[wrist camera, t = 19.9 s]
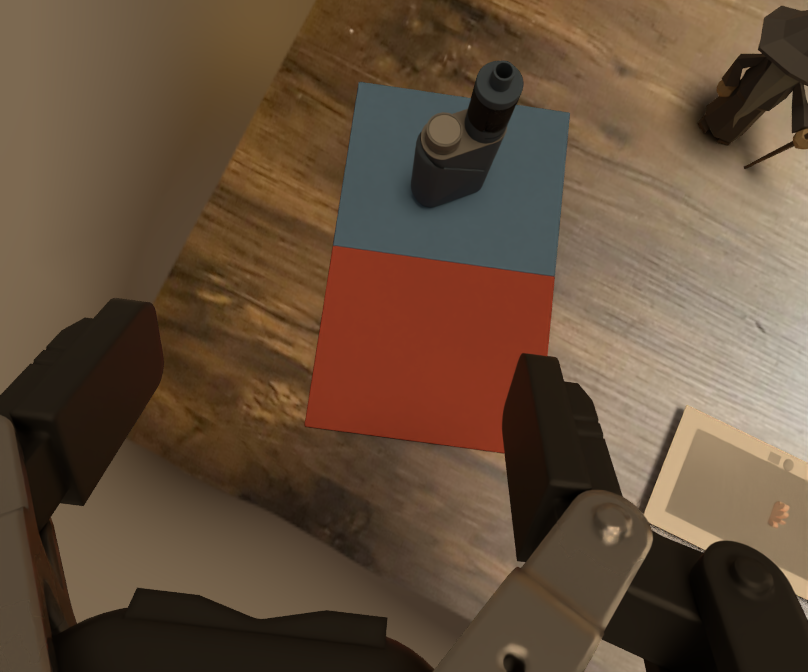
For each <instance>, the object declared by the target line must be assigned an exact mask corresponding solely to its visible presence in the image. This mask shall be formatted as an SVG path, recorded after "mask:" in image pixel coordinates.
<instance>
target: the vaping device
mask: <svg viewBox="0 0 808 672" xmlns="http://www.w3.org/2000/svg"><path fill="white" fill-rule="evenodd" d="M522 90H523V78H522V75H521V73H520V72H519V70H518V69H517V68H516V67H515V66H513V65H512V64H511V63H510V62H508V61H493V62H490V63H488V64H486V65H484V66H483V67H482V68H481V70H480V71H479V73H478V75H477V78H476V82H475V85H474V89H473V92H472V96H471V100H470V103H469V107H468V109H465V110H462V111H459V112H456V113H453V114H451V113H446V112H442V113H437V114H435V115H434V116H432V117H431V118H430V119H429V121H428V123H427V124H426V125H425V126H424V127H423V129H422V132H421V133H420V134H419V135H418V138H417V141H416V147H415V155H414V163H413V170H412V178H411V189H412V193H413V195H414V197H415V199H416V200H417V201H418V202H419V203H420V204H422V205H423V206H425V207H430V208H431V207H436V206H439V205H442V204H444V203H447V202H450V201H453V200H456V199H459V198H461V197H464V196H467V195H470V194H473V193H476V192H478V191H479V190H480V189H481V188H482V186H483V183H484V181H485V179H486V176H487V174H488V172H489V170H490V167H491V165H492V163H493V160H494V158H495V156H496V154H497V152H498V149H499V147H500V145H501V142H502V140H503V138H504V136H505V134H506V132H507V125H508V123H509V120H510V118H511V116H512V113H513V111H514V109H515V106H516V104H517V102H518V99H519V97H520V95H521V93H522Z"/></svg>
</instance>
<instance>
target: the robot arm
mask: <svg viewBox="0 0 808 672" xmlns="http://www.w3.org/2000/svg"><path fill="white" fill-rule="evenodd" d="M163 367H164V358H163V352H162V346H161V340H160V334H159V328H158V322H157V316H156V311H155V308H154V306H153V304H152V303H150V302H142V301H135V300H127V299H119V298H113V299H111V300H110V301H109V302H108V303H107V304H106V305H105V306H104V307H103V309H102V310H101V311H100V312H99V313H98V314H97V315H96V316H95V317H94V318H93V319H92V318H83V319H82V320H80V321H78V322H76V323H75V324H73V325H71V326H69V327H67V328H65V329H64V330H62V331H61V332H60V333H59V334H58V335H57V336H56V337H55V338H54V339H53V340H52V341H51V343H50V344H48V346H47V347H46V350H43V351H42V352H41V353H40V354H39V355H38V356H37V357H36V358H35V359H34V363H33V364H30V365H29V366H28V367H27V368H26V369H25V370H24V371H23V372H22V373H21V374H20V375H19V376H18V377H17V378H16V379H15V380H14V381H13V382H12V384H11V385H10V386H9V387H8V388H7V389H6V390H5V391H4V392H3V393H2V394H1V395H0V672H584V670H585V669H586V667H587V665H588V663H589V661H590V660H591V658H592V656H593V654H594V652H595V651H596V649H597V647H598V645H599V643H600V641H601V639H602V640H604V641H606V642H609V643H611V644H613V645H615V646H617V647H619V648H622V649H624V650H626V651H628V652H630V653H632V654H635V655H637V656H639V657H641V658H643V659H644V663H645V668H646V672H808V620H807V618H806V616H805V613H804V611H803V609H802V607H801V605H800V603H799V601H798V598H797V596H796V594H795V592H794V590H793V588H792V586H791V584H790V582H789V580H788V579H787V577H786V576H785V575H784V573H783V572H782V571H781V570H780V569H779V567H778V566H777V565H776V564H775V563H774V562H772V561H771V560H770V559H769V558H768V557H766V556H765V555H764V554H762V553H761V552H759V551H757V550H756V549H754V548H752V547H750V546H748V545H745V544H742V543H739V542H735V541H728V540H725V541H718V542H714V543H713V544H711V545H710V546H709V547H708V548H707V549H706V550H705V552H704V553H702V552H700V551H697V550H695V549H692V548H690V547H687V546H685V545H682V544H680V543H678V542H675V541H673V540H670V539H668V538H665V537H663V536H661V535H659V534H657V533H656V532H654V531H652V530H651V527H650V524H649V522H648V520H647V519H646V517H645V516H644V514H643V513H642V512H641V511H640V510H639V509H638V508H637V507H636V506H635V505H634V504H633V503H631V502H630V501H628V500H627V499H625V498H623V496H622V493H621V490H620V486H619V483H618V480H617V477H616V474H615V471H614V467H613V464H612V461H611V458H610V455H609V451H608V448H607V445H606V442H605V439H603V432H602V429H601V426H600V423H598V416H597V413H596V410H595V407H594V404H593V401H592V400H591V398H590V397H589V396H588V395H587V394H586V392H585V391H584V390H583V389H582V388H581V386H580V385H579V384H578V383H572V382H564V379H563V376H562V372H561V368H560V364H559V361H558V359H557V358H556V357H550V356H543V355H535V354H528V353H522V354H521V355H520V357H519V360H518V363H517V366H516V369H515V372H514V376H513V379H512V382H511V385H510V388H509V392H508V395H507V398H506V401H505V405H504V410H503V416H502V435H503V444H504V453H505V461H506V470H507V479H508V487H509V496H510V504H511V513H512V522H513V530H514V539H515V548H516V556H517V561H521V562H526V563H525V564H524V565H523V566H522V567H521V568H519V567H516V568H515V569H514V570H513V571H512V572H511V573H510V574H509V575H508V576H507V578H506V579H505V580H504V581H503V583H502V584H501V585H500V587H499V588H498V589H497V590H496V592H495V593H494V594H493V596H492V597H491V598H490V599H489V601H488V602H487V603H486V604H485V606H484V607H483V608H482V610H481V611H480V612H479V613H478V615H477V616H476V617H475V618H474V620H473V621H472V622H471V624H470V625H469V626H468V627H467V629H466V630H465V631H464V633H463V634H462V635H461V636H460V638H459V639H458V640H457V641H456V643H455V644H454V645H453V647H452V648H451V649H450V650H449V652H448V653H447V654H446V656H445V657H444V658H443V659H442V661H441V662H440V663H439V664H438V666H437V667H436V668H435V669H434V668H432V667H431V666H430V665H429V664H428V663H427V662H426V661H425V660H424V659H423V658H422V657H421V656H419V655H418V654H417V653H415V652H414V651H413V650H411V649H410V648H408V647H406V646H405V645H403V644H401V643H399V642H398V641H396V640H393V639H391V638H388V637H386V627H387V618H386V617H378V616H369V615H360V614H353V613H344V612H336V611H327V610H326V611H318V612H311V613H304V614H297V615H290V616H283V617H275V618H268V619H256V618H253V617H250V616H248V615H245V614H243V613H241V612H238V611H236V610H234V609H231V608H229V607H226V606H224V605H222V604H219V603H217V602H214V601H212V600H210V599H207V598H205V597H202V596H200V595H194V594H185V593H177V592H168V591H160V590H151V589H143V588H137V589H136V591H135V593H134V596H133V598H132V600H131V602H130V604H129V606H128V608H123V609H118V610H114V611H110V612H106V613H103V614H100V615H97V616H94V617H91V618H89V619H86V620H84V621H82V622H80V623H78V624H77V622H76V619H75V616H74V614H73V610H72V606H71V603H70V599H69V594H68V590H67V585H66V580H65V576H64V571H63V567H62V562H61V557H60V552H59V548H58V543H57V539H56V534H55V530H54V525H53V522H52V520H51V516H52V514H53V513H54V511H55V510H56V508H57V507H58V505H59V504H60V503H63V504H71V505H79V506H84V505H85V503H86V501H87V500H88V498H89V497H90V495H91V493H92V491H93V490H94V488H95V487H96V485H97V483H98V482H99V480H100V479H101V477H102V476H103V474H104V472H105V471H106V469H107V467H108V466H109V464H110V463H111V461H112V460H113V458H114V456H115V455H116V453H117V452H118V450H119V448H120V447H121V445H122V443H123V442H124V440H125V439H126V437H127V435H128V434H129V432H130V431H131V429H132V427H133V426H134V424H135V423H136V421H137V419H138V418H139V416H140V415H141V413H142V411H143V410H144V408H145V407H146V405H147V403H148V402H149V400H150V398H151V397H152V395H153V394H154V392H155V390H156V389H157V387H158V385H159V383H160V381H161V378H162V374H163Z"/></svg>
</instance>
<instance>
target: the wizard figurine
mask: <svg viewBox="0 0 808 672" xmlns="http://www.w3.org/2000/svg"><path fill="white" fill-rule="evenodd" d="M758 50H759V51H760V52H761V53H762V54H740V56H739V57H738V58H737V59H736V60H735V62H734V63H733V64H732V66H731V67H730V68H729V69H728V71H727V72H726V73H725V75H724V76H723V77H722V80H721V81H720V82H719V83H718V86H717V93H718V95H719V97H717V98H716V99H715V100H714V101H712V102H711V103H710V104H708V105H707V107H706V114H705V115H704V116H703V117H702V119H701V120H700V121H699V122H698V123H697V124H698V126H699V127H700V129H701V130H702V132H703V133H705V132H706V131H708V130H709V129H710V130H711V132H712V134H713V136H715V137H717V138H718V139H717V143H721V144H725V145H729V144H730V143H731V142H733V141H734V140H736V139H737V138H739V137H740V136H742V135H743V134H744V133H745V132H746V131H747V130H748V129H749V128H750V127H751V126H752V125H753V123H754V122H755V121H756V120H757V119H758V118H759V117H760V116H761V115H762V114H763V113H764V112H765V111H770V110H771V109H772V108H774V107H775V106H776V105H778V104H779V103H780V102H782V101H783V100H784V99H786V98H787V97H788V95H789V94H790V93H791V92H792V91H793V97H792V133H796V134H795V135H794V137H793V141H792V142H790V143H788V144H786V145H784V146H782V147H780V148H778V149H777V150H775V151H773V152H771V153H769V154H767V155H765V156H763V157H761V158H760V159H758V160H756V161H754V162H752V163H750V164H748V165H746V166H744V169H746V168H748V167H751V166H753V165H755V164H757V163H759V162H761V161H763V160H766V159H768V158H770V157H772V156H774V155H776V154H778V153H780V152H783V151H785V150H787V149H789V148H791V147H793V146H795V148H798V149H808V103H807V100H806V96H805V90H804V85H806V86H808V10H806V11H799V10H796V9H792V8H788V7H785V6H780V7H779V8H778V9H776V10H775V11H773V12H772V13H770V14H769V15H767V16H766V17H765V18H764V23H763V29H762V34H761V40H760V44H759V47H758ZM747 67H750V68H749V69H748V70H746V72H745V74H744V76H743V77H742V79H741V80H740V77H741V73H742V69H743V68H747Z"/></svg>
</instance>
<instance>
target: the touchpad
mask: <svg viewBox="0 0 808 672" xmlns="http://www.w3.org/2000/svg"><path fill="white" fill-rule="evenodd" d="M644 516H645V517H646V519H647V520H648V522H649V523H651V524H653V525H655V526H657V527H659V528H661V529H663V530H665V531H667V532H669V533H671V534H673V535H676V536H678V537H680V538H682V539H684V540H686V541H688V542H690V543H692V544H694V545H696V546H698V547H700V548H702V549H704V550H706V549H707V548H708V547H709V546H710V545H711V544H713V543H714V542H718V541H725V540H728V541H735V542H739V543H742V544H745V545H748V546H750V547H752V548H754V549H756V550H757V551H759V552H761V553H762V554H764V555H765V556H766V557H768V558H769V559H770V560H771V561H772V562H774V563H775V564H776V565H777V566H778V567H779V569H780V570H781V571H782V572H783V573H784V575H785V576H786V577H787V579H788V580H789V582H790V584H791V586H792V588H793V590H794V592H795V594H796V595H798V596H800V597H802V598H804V599H806V600H808V463H807V462H805V461H802V460H800V459H798V458H796V457H794V456H792V455H790V454H788V453H786V452H784V451H782V450H780V449H778V448H775V447H773V446H771V445H769V444H767V443H765V442H763V441H761V440H759V439H757V438H755V437H753V436H751V435H748V434H746V433H744V432H742V431H740V430H738V429H736V428H734V427H732V426H730V425H728V424H726V423H724V422H721V421H719V420H717V419H715V418H713V417H711V416H709V415H707V414H705V413H703V412H701V411H699V410H697V409H694V408H692V407H690V406H688V405H686V408H685V410H684V413H683V415H682V418H681V420H680V423H679V426H678V428H677V431H676V433H675V436H674V438H673V441H672V443H671V446H670V448H669V451H668V453H667V456H666V459H665V461H664V464H663V466H662V469H661V471H660V474H659V476H658V479H657V481H656V484H655V486H654V489H653V492H652V494H651V497H650V499H649V502H648V504H647V507H646V509H645V512H644Z"/></svg>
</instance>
